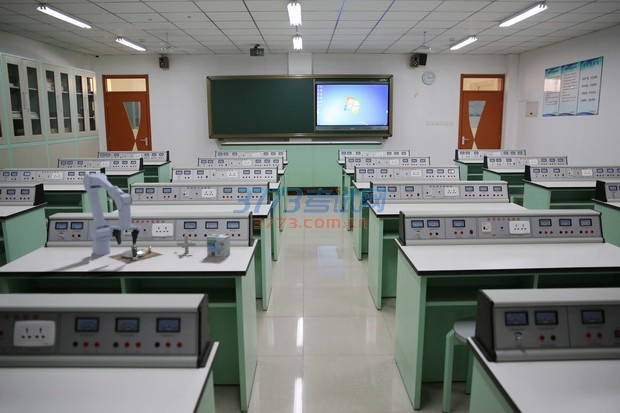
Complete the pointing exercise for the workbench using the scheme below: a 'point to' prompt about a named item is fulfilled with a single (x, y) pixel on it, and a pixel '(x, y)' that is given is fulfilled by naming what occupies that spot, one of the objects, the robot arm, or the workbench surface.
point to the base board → (130, 260)
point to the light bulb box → (218, 245)
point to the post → (133, 247)
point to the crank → (134, 253)
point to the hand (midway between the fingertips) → (127, 244)
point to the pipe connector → (186, 243)
